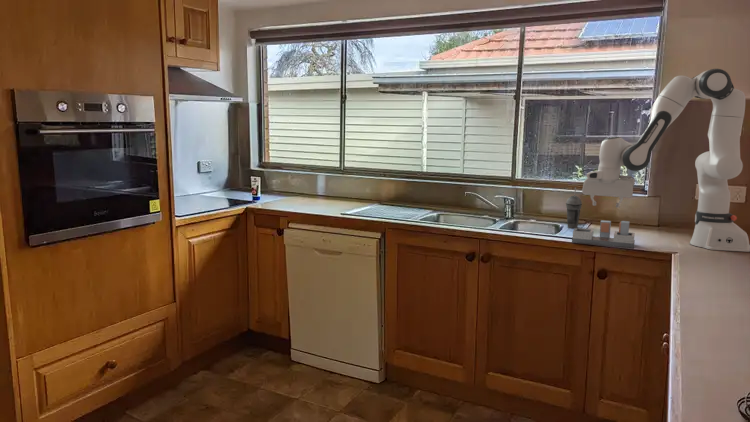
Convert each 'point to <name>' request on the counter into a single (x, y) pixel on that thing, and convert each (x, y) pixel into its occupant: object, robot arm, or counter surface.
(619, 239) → the rail
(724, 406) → the counter surface
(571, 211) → the beverage cup
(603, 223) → the grey and orange block
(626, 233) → the block
